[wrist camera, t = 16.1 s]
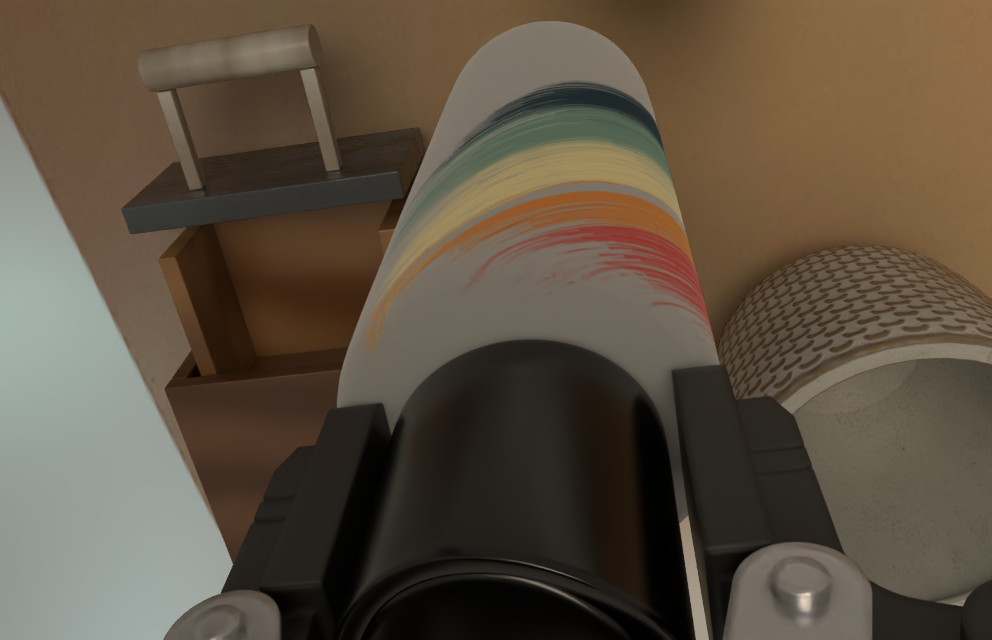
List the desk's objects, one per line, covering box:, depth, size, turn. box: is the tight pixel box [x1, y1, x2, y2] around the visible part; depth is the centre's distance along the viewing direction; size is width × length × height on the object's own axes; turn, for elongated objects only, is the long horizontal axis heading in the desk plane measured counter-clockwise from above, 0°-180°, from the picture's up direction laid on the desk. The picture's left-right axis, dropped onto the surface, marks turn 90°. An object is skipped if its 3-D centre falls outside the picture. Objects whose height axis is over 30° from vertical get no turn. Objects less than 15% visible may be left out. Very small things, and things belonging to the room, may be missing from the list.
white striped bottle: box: [333, 21, 720, 640], centre depth 18 cm, size 6×6×20 cm
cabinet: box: [165, 350, 344, 564], centre depth 47 cm, size 12×13×8 cm
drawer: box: [121, 24, 424, 377], centre depth 42 cm, size 17×12×6 cm
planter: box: [717, 245, 992, 606], centre depth 41 cm, size 14×14×13 cm
